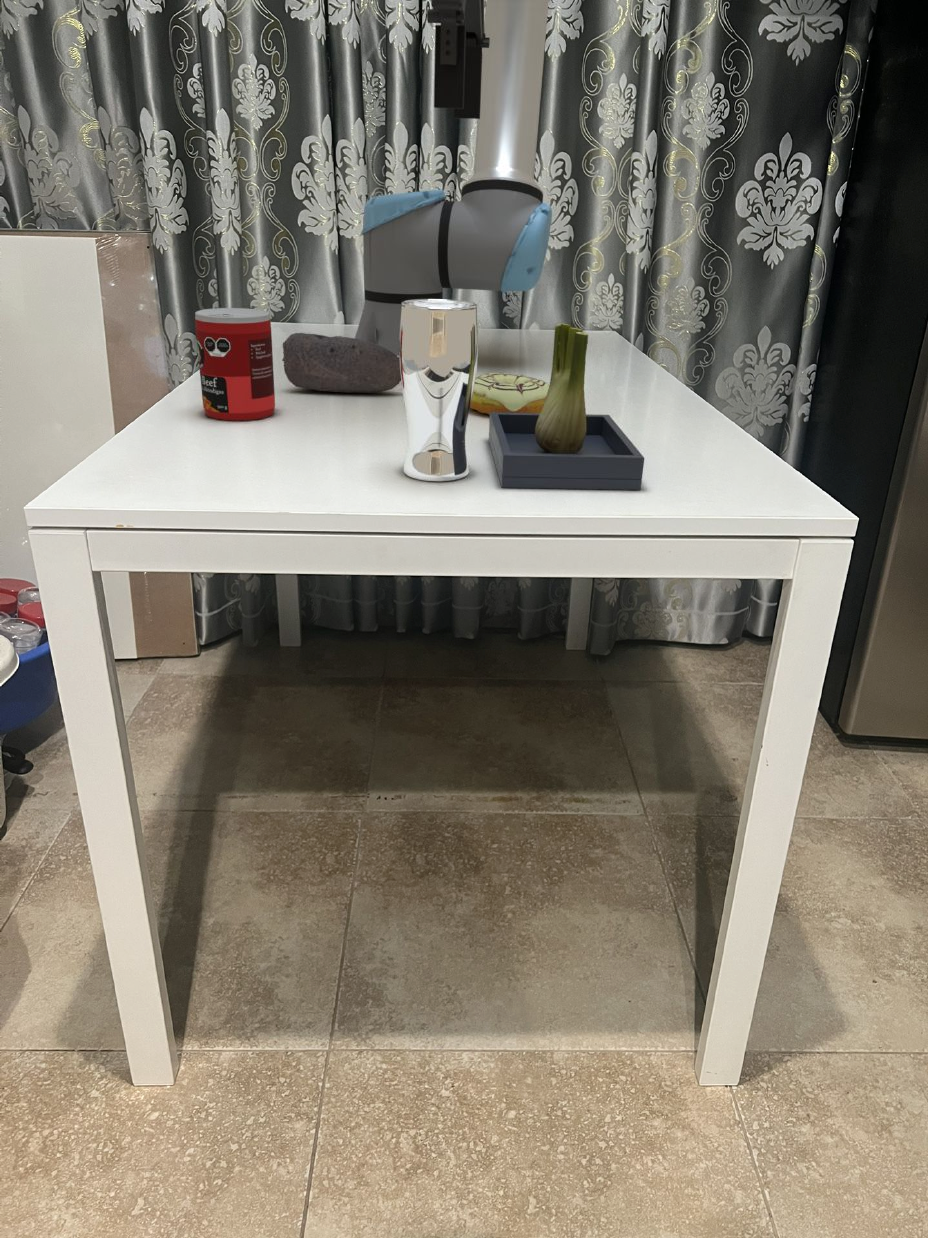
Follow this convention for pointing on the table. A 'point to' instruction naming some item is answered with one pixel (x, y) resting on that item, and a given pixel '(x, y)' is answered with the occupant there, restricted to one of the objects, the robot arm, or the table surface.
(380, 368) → the perforated stone tool
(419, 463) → the beer glass
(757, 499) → the table surface
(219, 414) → the canned food
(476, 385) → the decorated donut
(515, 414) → the dark grey tray
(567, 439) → the fennel bulb
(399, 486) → the table surface
